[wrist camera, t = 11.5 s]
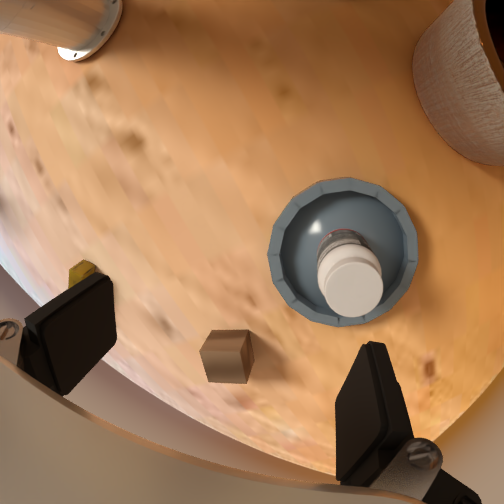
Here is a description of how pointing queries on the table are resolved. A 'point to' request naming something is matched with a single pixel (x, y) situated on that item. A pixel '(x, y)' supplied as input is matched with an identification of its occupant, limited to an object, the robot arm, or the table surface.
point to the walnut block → (227, 356)
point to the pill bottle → (348, 273)
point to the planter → (465, 78)
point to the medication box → (80, 272)
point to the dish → (336, 217)
